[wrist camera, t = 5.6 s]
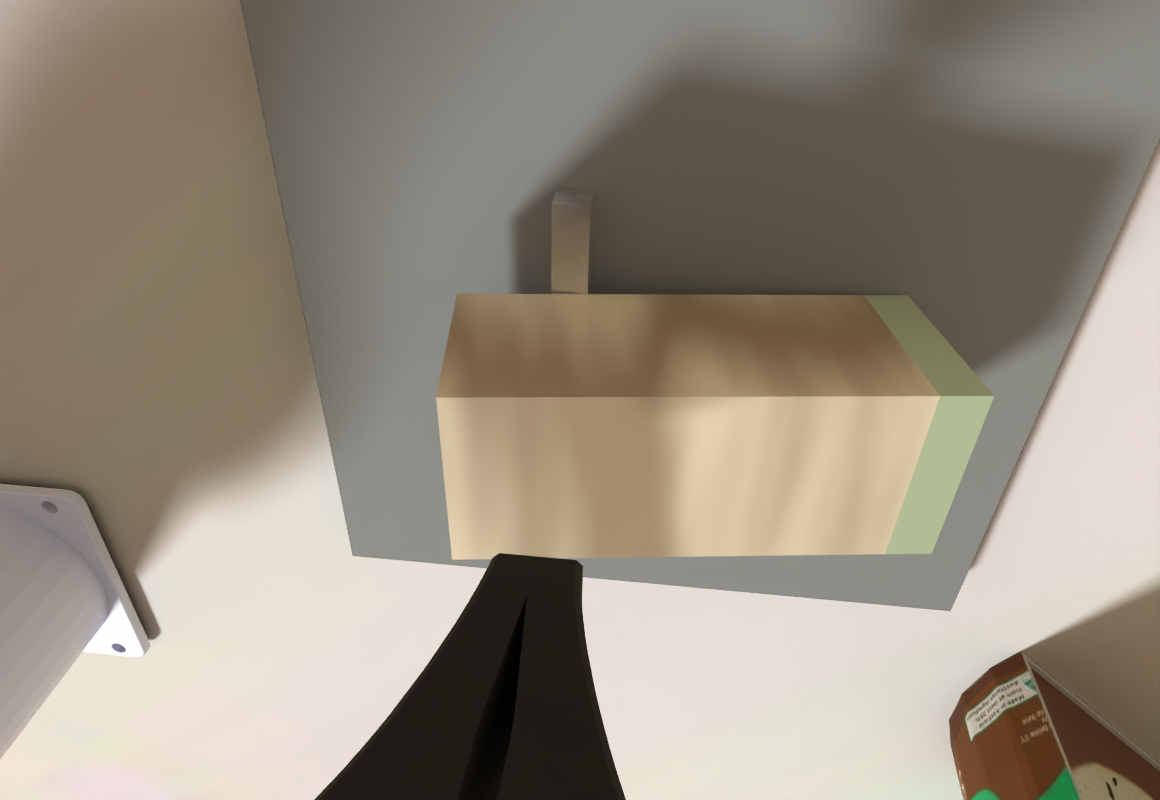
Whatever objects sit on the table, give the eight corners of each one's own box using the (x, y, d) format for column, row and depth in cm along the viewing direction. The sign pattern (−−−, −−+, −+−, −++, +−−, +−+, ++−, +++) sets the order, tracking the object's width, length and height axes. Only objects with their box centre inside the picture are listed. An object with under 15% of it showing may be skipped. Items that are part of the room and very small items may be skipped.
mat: (363, 533, 25) (341, 580, 23) (255, -41, 16) (206, -31, 14) (940, 585, 23) (960, 638, 22) (1188, -6, 14) (1255, 10, 13)
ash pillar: (451, 559, 16) (931, 553, 16) (436, 397, 13) (994, 396, 14) (467, 440, 19) (865, 437, 19) (457, 294, 17) (907, 295, 17)
